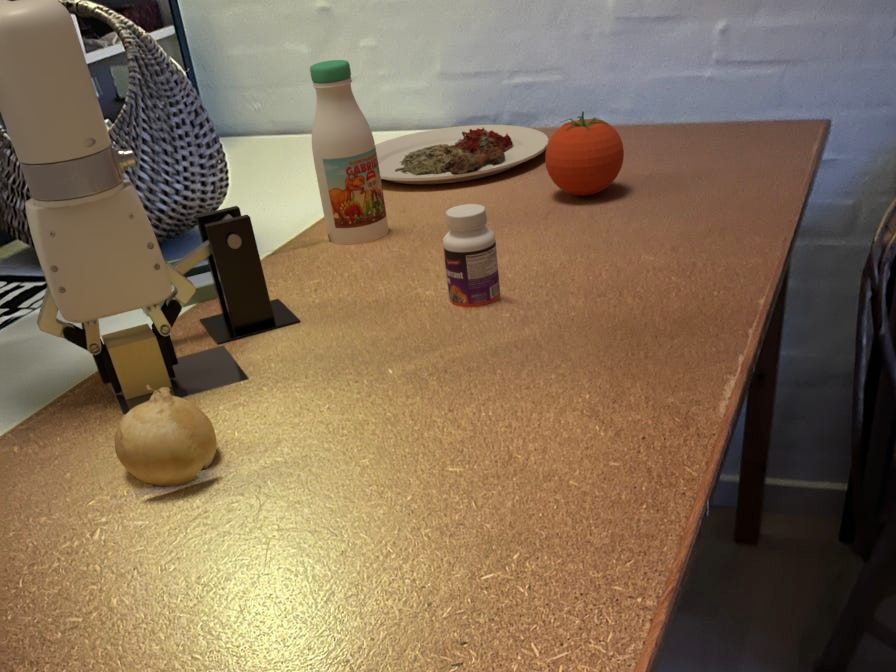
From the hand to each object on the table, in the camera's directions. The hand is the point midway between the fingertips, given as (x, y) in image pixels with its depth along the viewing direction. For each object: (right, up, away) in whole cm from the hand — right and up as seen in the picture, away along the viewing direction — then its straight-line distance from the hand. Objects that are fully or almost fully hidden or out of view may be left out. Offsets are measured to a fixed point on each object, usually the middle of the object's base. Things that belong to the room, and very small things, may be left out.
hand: (142, 378), depth 93 cm
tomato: (+46, +35, +38) cm, 69 cm away
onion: (+7, -11, -12) cm, 18 cm away
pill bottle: (+32, +10, +11) cm, 35 cm away
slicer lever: (+3, +12, +6) cm, 14 cm away
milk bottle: (+17, +26, +32) cm, 44 cm away
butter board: (+3, 0, +2) cm, 3 cm away
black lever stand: (+8, +8, +12) cm, 16 cm away
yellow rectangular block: (0, -1, +1) cm, 1 cm away
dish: (-2, +16, +22) cm, 27 cm away
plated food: (+28, +49, +58) cm, 80 cm away
